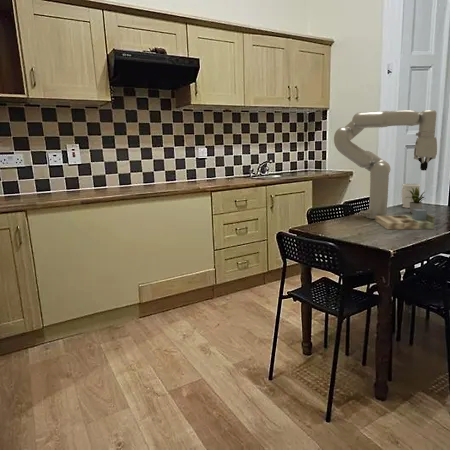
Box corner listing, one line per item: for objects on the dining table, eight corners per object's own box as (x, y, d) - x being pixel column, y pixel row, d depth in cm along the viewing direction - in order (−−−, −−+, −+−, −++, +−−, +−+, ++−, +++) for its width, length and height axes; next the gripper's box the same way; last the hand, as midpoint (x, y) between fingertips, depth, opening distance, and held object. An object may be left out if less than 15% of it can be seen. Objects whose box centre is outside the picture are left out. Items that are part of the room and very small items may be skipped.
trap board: (387, 229, 184) (388, 217, 183) (375, 221, 204) (376, 210, 202) (433, 228, 182) (434, 216, 181) (417, 220, 201) (418, 209, 200)
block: (415, 220, 188) (416, 210, 187) (412, 218, 193) (412, 208, 192) (426, 220, 188) (427, 210, 187) (422, 218, 193) (423, 208, 192)
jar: (403, 208, 238) (404, 185, 235) (398, 205, 248) (400, 183, 244) (420, 208, 236) (422, 185, 233) (415, 205, 246) (417, 183, 243)
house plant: (395, 211, 230) (397, 184, 227) (417, 210, 231) (419, 183, 228) (409, 215, 216) (411, 187, 213) (431, 214, 217) (434, 186, 214)
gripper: (414, 135, 191) (411, 171, 194) (445, 134, 189) (441, 170, 193) (408, 135, 198) (406, 170, 202) (438, 134, 196) (435, 169, 200)
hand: (423, 170), depth 197 cm, fingers closed
